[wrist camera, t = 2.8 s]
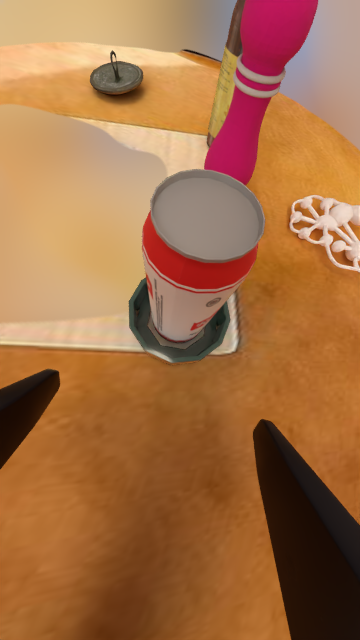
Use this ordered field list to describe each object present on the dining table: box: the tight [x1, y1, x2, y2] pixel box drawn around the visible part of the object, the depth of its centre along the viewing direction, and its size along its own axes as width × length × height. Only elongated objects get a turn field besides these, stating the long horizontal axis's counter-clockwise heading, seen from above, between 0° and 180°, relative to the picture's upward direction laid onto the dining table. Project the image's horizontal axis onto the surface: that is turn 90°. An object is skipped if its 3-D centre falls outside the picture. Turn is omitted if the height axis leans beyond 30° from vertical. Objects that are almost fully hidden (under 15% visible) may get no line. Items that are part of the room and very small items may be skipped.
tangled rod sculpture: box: [289, 195, 360, 273], centre depth 28 cm, size 19×14×4 cm
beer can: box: [142, 169, 265, 343], centre depth 15 cm, size 6×6×16 cm
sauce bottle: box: [207, 0, 246, 146], centre depth 25 cm, size 6×6×20 cm
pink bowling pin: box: [204, 0, 318, 185], centre depth 21 cm, size 7×7×20 cm
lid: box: [90, 50, 143, 94], centre depth 35 cm, size 11×10×5 cm
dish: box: [129, 278, 230, 365], centre depth 21 cm, size 11×11×4 cm
